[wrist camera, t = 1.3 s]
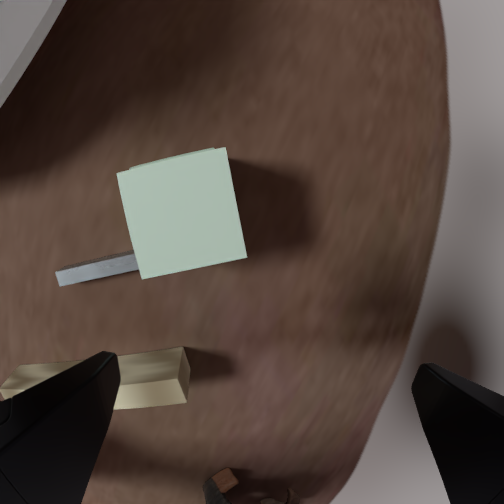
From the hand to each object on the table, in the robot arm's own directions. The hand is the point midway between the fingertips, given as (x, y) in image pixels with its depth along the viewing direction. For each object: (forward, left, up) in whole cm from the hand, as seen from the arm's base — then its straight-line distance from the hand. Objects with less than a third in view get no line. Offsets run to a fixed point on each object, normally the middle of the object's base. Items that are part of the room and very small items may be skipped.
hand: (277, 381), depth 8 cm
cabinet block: (-2, +4, -13) cm, 14 cm away
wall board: (-13, -6, -13) cm, 20 cm away
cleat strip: (-9, +2, -13) cm, 16 cm away
